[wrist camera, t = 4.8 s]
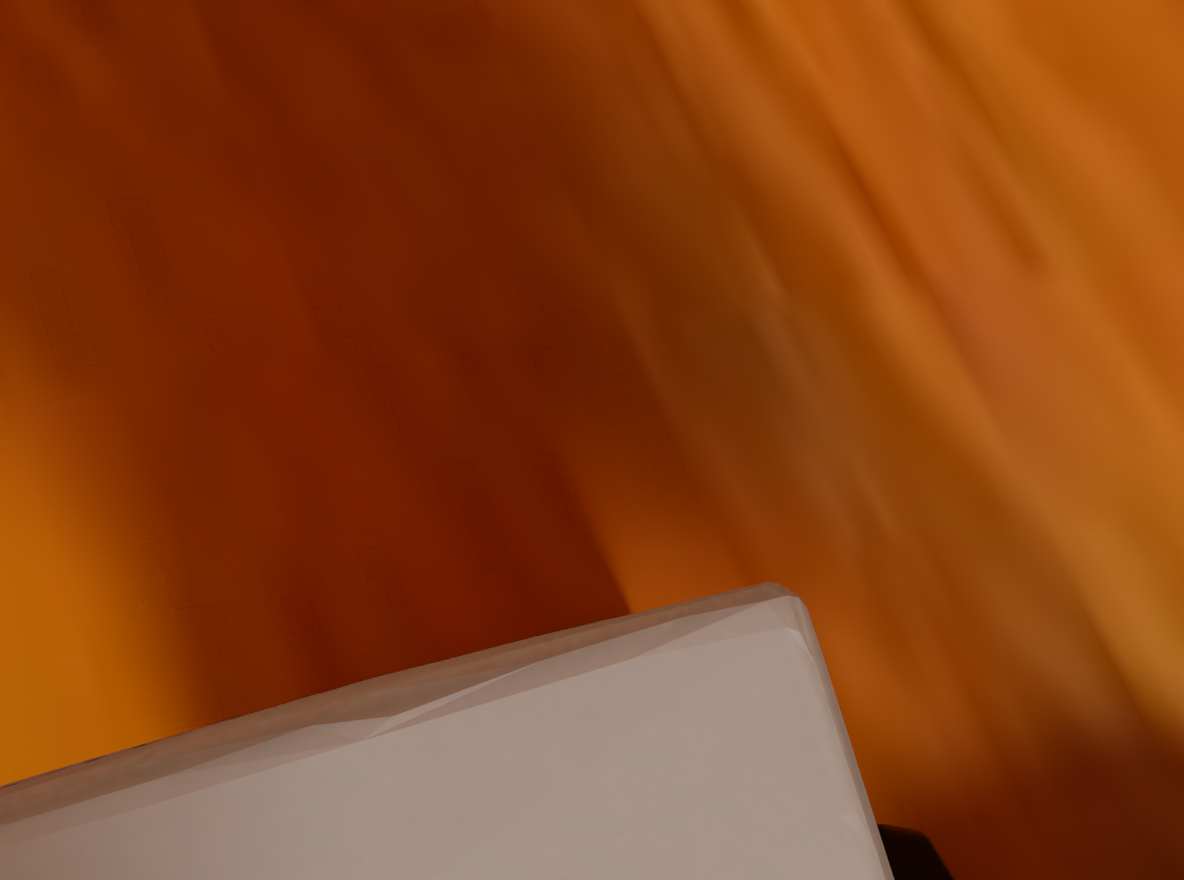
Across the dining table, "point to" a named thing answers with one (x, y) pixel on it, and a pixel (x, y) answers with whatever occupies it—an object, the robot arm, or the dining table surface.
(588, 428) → the dining table surface
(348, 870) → the skincare box
